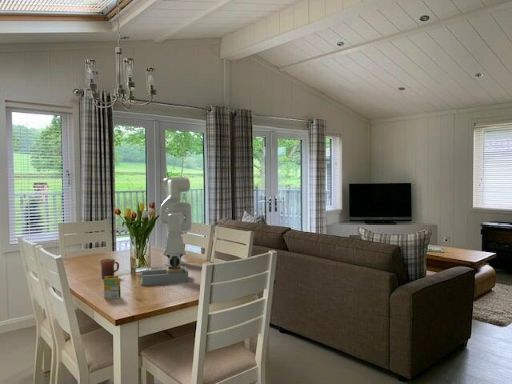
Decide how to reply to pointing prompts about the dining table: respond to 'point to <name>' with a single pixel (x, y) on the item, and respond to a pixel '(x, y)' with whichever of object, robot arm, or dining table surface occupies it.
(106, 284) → the crayon box
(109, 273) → the mug
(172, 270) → the crate
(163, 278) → the bay
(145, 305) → the dining table surface
